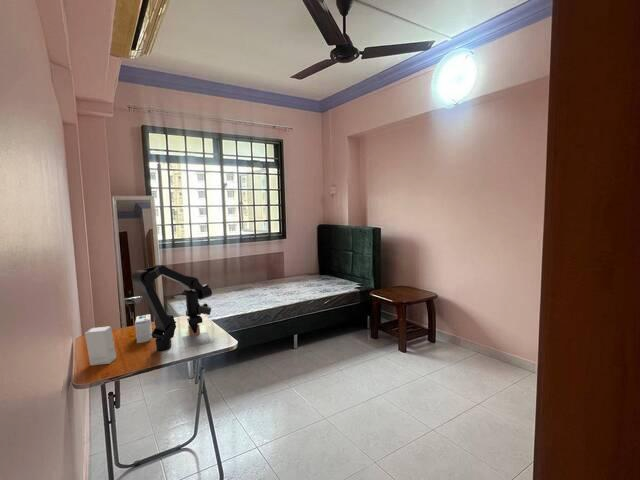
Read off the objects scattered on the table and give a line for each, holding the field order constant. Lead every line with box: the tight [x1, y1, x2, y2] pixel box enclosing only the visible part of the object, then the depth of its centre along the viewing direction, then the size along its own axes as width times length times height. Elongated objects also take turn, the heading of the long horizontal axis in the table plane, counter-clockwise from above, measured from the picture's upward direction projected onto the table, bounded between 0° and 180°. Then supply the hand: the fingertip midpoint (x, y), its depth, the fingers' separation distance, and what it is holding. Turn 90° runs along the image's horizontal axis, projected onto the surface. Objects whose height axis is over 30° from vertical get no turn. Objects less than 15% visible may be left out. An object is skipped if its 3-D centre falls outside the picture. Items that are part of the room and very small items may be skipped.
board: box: [180, 324, 213, 349], centre depth 168 cm, size 28×12×1 cm, turn 26°
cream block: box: [187, 321, 201, 335], centre depth 174 cm, size 4×5×9 cm
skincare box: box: [84, 325, 117, 366], centre depth 145 cm, size 8×6×15 cm
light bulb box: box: [134, 313, 153, 344], centre depth 171 cm, size 11×7×11 cm, turn 25°
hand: (195, 332), depth 169 cm, fingers closed
